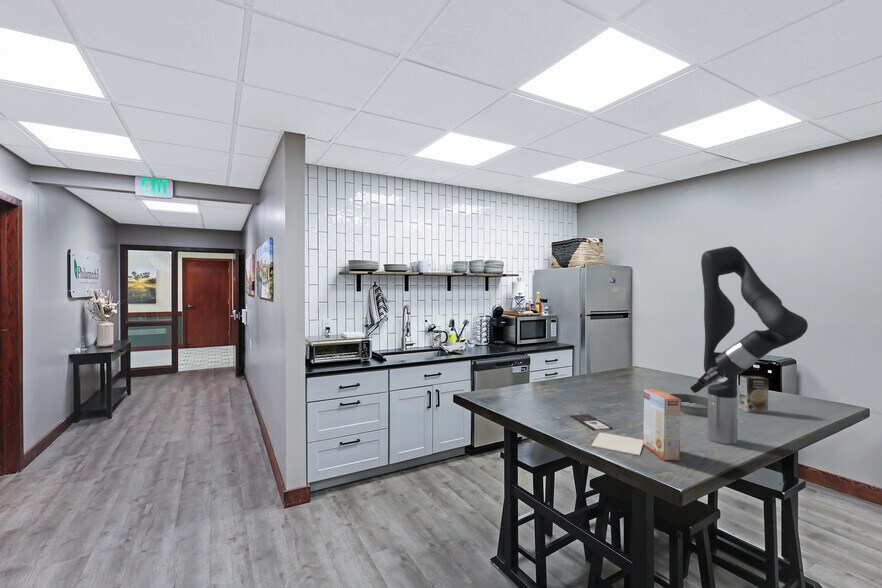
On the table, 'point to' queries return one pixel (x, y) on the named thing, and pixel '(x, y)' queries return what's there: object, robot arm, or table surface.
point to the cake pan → (693, 399)
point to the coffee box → (754, 394)
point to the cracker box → (662, 424)
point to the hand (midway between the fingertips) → (692, 390)
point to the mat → (618, 443)
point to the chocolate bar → (591, 422)
